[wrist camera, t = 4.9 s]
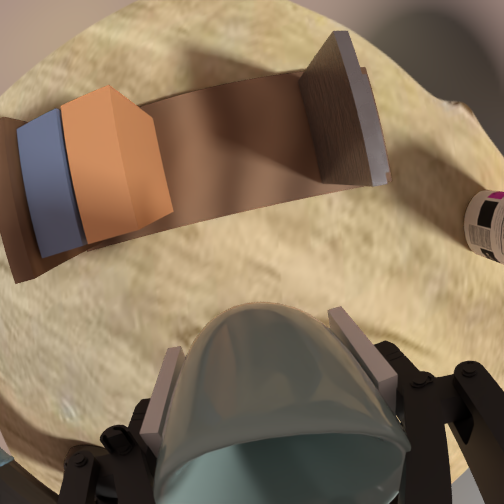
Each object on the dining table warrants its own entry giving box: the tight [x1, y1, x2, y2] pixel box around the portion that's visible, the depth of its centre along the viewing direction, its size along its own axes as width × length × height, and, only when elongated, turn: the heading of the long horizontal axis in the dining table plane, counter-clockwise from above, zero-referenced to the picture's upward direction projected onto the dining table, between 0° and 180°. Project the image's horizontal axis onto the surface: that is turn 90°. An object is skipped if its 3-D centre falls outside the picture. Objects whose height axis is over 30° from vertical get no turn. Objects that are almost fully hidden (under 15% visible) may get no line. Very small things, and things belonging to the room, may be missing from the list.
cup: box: [153, 302, 411, 504], centre depth 11 cm, size 8×8×10 cm
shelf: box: [0, 67, 392, 284], centre depth 21 cm, size 31×12×13 cm, turn 102°
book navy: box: [17, 108, 88, 258], centre depth 21 cm, size 4×9×11 cm, turn 13°
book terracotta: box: [61, 85, 174, 244], centre depth 21 cm, size 4×9×11 cm, turn 12°
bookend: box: [298, 31, 389, 187], centre depth 21 cm, size 7×10×11 cm
